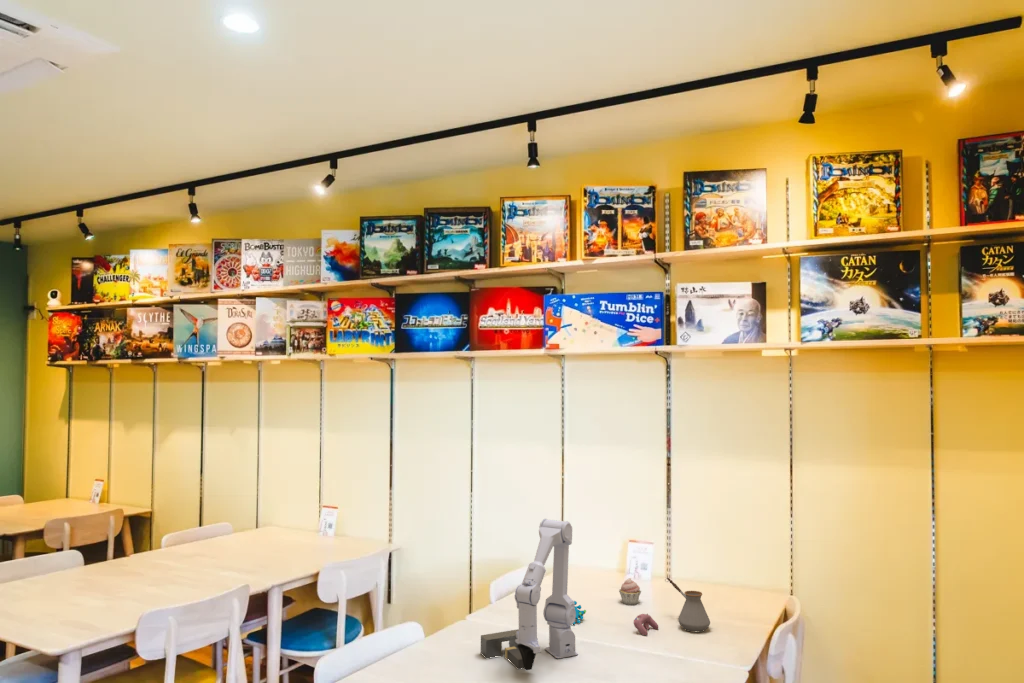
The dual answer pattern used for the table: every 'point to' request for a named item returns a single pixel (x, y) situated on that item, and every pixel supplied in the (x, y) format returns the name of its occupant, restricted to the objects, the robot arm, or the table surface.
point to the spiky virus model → (579, 613)
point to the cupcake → (630, 592)
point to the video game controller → (644, 623)
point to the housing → (497, 642)
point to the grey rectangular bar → (514, 656)
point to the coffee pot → (692, 611)
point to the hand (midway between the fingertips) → (528, 669)
